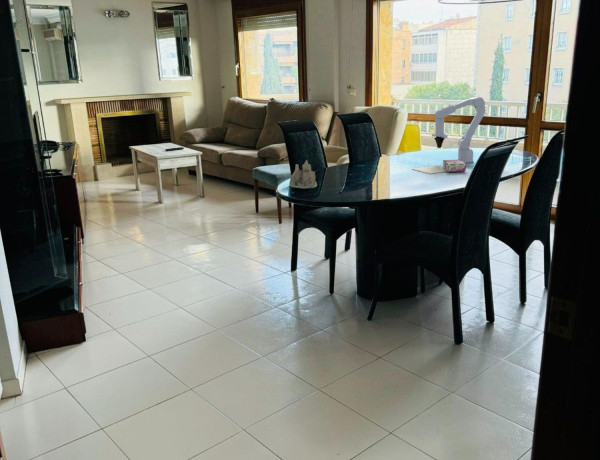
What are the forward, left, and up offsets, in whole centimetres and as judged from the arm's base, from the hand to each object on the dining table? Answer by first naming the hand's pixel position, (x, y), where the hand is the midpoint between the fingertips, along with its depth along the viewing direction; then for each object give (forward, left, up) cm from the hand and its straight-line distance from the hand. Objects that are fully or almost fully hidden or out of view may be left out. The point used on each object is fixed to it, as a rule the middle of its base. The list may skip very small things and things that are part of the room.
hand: (439, 147), depth 370 cm
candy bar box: (+5, +20, -8) cm, 22 cm away
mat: (+18, +18, -10) cm, 27 cm away
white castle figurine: (+105, +9, -11) cm, 106 cm away
